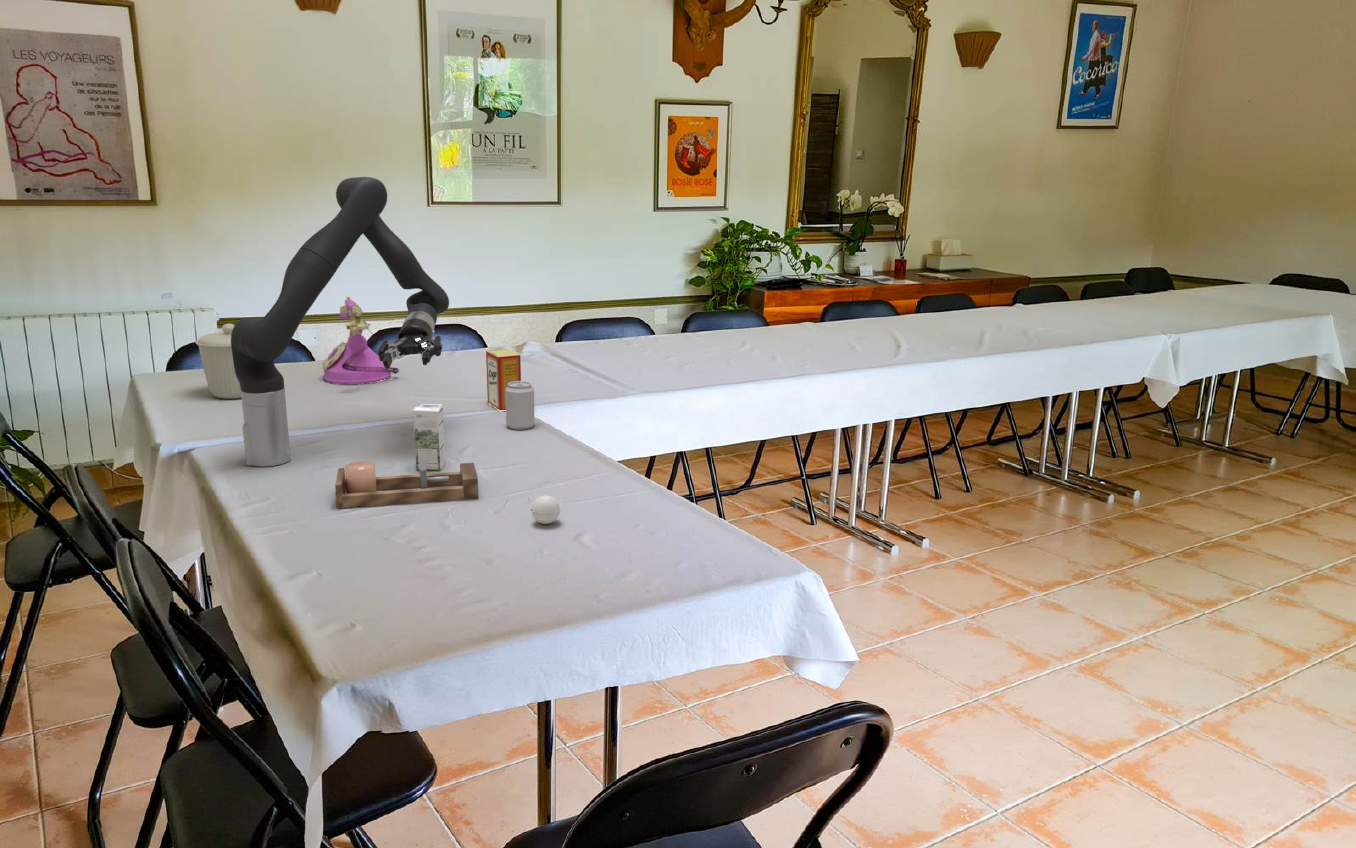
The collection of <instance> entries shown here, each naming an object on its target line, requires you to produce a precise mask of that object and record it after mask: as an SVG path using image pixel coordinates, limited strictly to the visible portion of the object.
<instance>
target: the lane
mask: <svg viewBox="0 0 1356 848" xmlns="http://www.w3.org/2000/svg"><path fill="white" fill-rule="evenodd" d="M459 469H460V470H459V471H452V472H451V471H449V472H436V473H435V472H434V473H426V475H427V477H443V476H449V481H438V482H427V488H424V489H421V477H420V473H418V474H404V475H388V476H376V486H377V492H364V493H349V494H347V490H346V476H345V467H338V469H337V475H336V480H335V485H334V487H335V501H336V509H337V508H338V509H345V508H344V507H352V508H358V507H357V506H366V507H379V506H392V505H394V506H395V505H406V504H421V503H435V502H447V501H448V502H449V501H462V500H463V501H464V500H476V499H477V500H478V499H479V479H478V473H477V470H476V466H475V463H474V462H465V463H464V462H461V463H459ZM342 507H343V508H342Z"/></svg>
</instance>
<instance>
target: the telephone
mask: <svg viewBox="0 0 1356 848" xmlns="http://www.w3.org/2000/svg"><path fill="white" fill-rule="evenodd" d="M363 313H364V311H363V309H362V307H361V306H360V305H359V304H357V303H356V302H355V301H354V300H353V299H351V297H350V296H347V297H346V299H345V300H344V305H341V306H340V307H339V318H340V319H341V320H348V321H350V322H349V323H347V324H345V327H346V330H349V334H348V337H347V341H346V342H344V341H342V342H340V343H339V344H338V345H337V346H336V347H334V348H333V349H332V350H331V352H330V353H328V355H327V357H326V358H325V359H324V361H323V362H322V369H323V372H324V374H323V376H322V377H323V379H324V380H326V381H327V382H326V381H325V382H326V383H328V382H331V383H330V384H332V383H334V384H333V385H336V384H363V383H370V382H377V381H380V380H384V379H386V378H388V377H389V378H391V376H392V375H394V374H398V373H399V372H400V369H399V367H391V366H390V368H388V369H386V367H384V364H383V361H380V359H379V355H378V353H377V352H375V351H374V350H373V349H372V348H371V346H373V345H374V344H375V343H376V341H377V340H378V339H379V336H378V335H375V334H374V335H373V336H372V337H371V339H370V340H369V341H368V340H367V338H366V337H365V336H364V335H363V331H364V330H368V331H369V332H370V333H372V332H371V330H370V329H369V328H370V326H371V323H367V322H366V321H365V319H363V317H362V314H363ZM389 378H388V379H389ZM386 380H387V379H386ZM363 385H364V384H363Z"/></svg>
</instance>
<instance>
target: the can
mask: <svg viewBox="0 0 1356 848" xmlns="http://www.w3.org/2000/svg"><path fill="white" fill-rule="evenodd" d="M505 397H506V411H505V425H506V426H507V427H508V428H509V429H511V430H514V431H516V430H517V431H524V430H525V431H526V430H530V429H532V428H533V426H534V425H535V423H536V421H535V420H536V419H535V388H534V387H533V386H532V382H530V381H526V380H521V381H514V382H510V383H508V387H507V388H506V389H505Z"/></svg>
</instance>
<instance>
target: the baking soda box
mask: <svg viewBox="0 0 1356 848" xmlns="http://www.w3.org/2000/svg"><path fill="white" fill-rule="evenodd" d="M485 359H486V360H485V361H486V363H485V364H486V366H485V367H486V386H487V387H486V390H487V404H488V403H490V404H491V405H492V406H494V407H496V408H497V409H499V410H506V397H505V389H506V388H507V387H508V383H510V382H514V381H522V371H521V370H522V368H521V367H522V365H521V355H520V354H518V353H517V352H514V351H512V350H509V349H507V348H506V349H497V350H485Z"/></svg>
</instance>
